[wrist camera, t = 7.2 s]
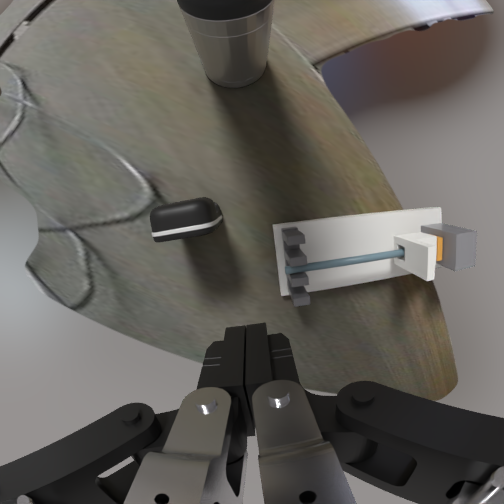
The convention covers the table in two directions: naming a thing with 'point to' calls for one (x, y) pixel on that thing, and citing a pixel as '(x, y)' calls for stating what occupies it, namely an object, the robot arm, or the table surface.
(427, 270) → the sleeve
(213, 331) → the table surface
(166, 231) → the battery charger
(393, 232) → the cable jig
